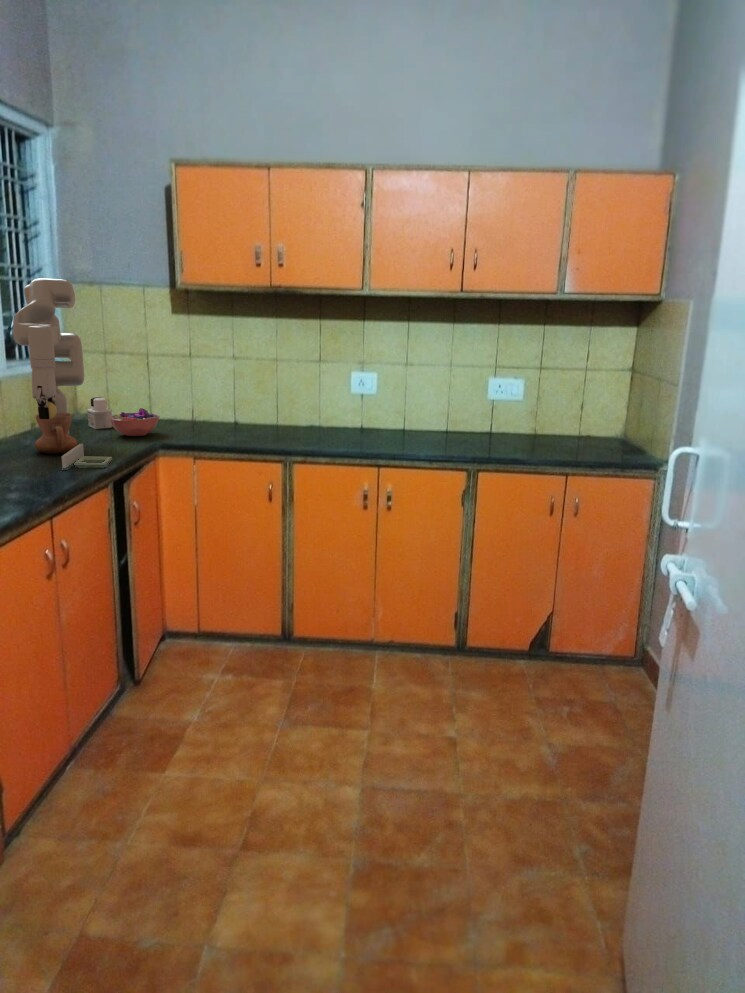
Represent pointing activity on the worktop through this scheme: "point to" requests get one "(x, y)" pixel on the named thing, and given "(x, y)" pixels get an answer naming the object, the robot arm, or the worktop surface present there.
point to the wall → (72, 455)
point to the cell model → (135, 423)
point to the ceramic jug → (55, 434)
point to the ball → (51, 410)
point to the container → (99, 414)
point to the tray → (79, 462)
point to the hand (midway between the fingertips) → (47, 416)
